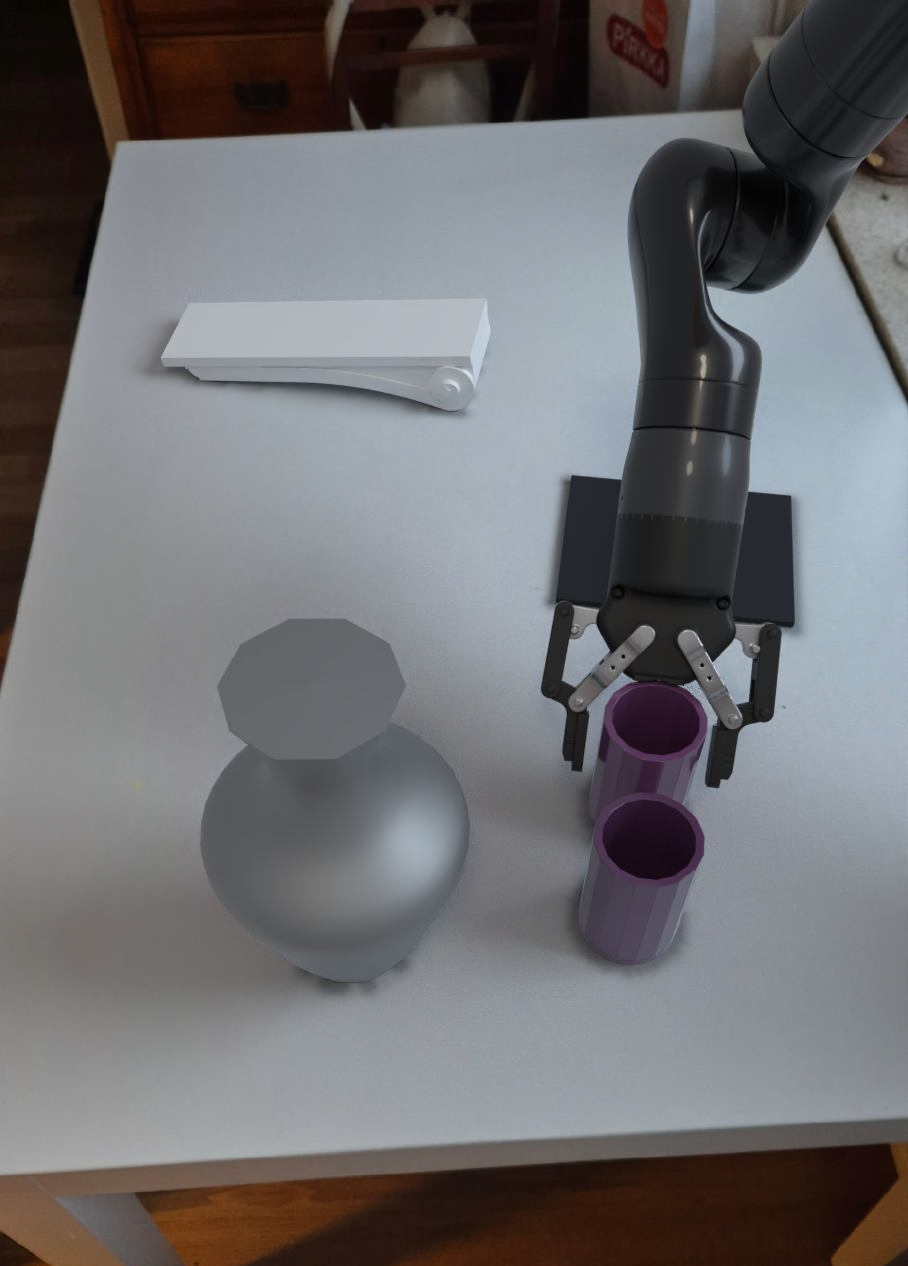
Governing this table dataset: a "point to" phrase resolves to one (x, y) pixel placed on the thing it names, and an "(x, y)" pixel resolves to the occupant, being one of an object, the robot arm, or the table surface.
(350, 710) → the vase
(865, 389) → the table surface
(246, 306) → the wall bracket
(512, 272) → the table surface
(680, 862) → the plum cup
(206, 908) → the table surface
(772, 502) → the mat
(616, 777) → the plum cup
